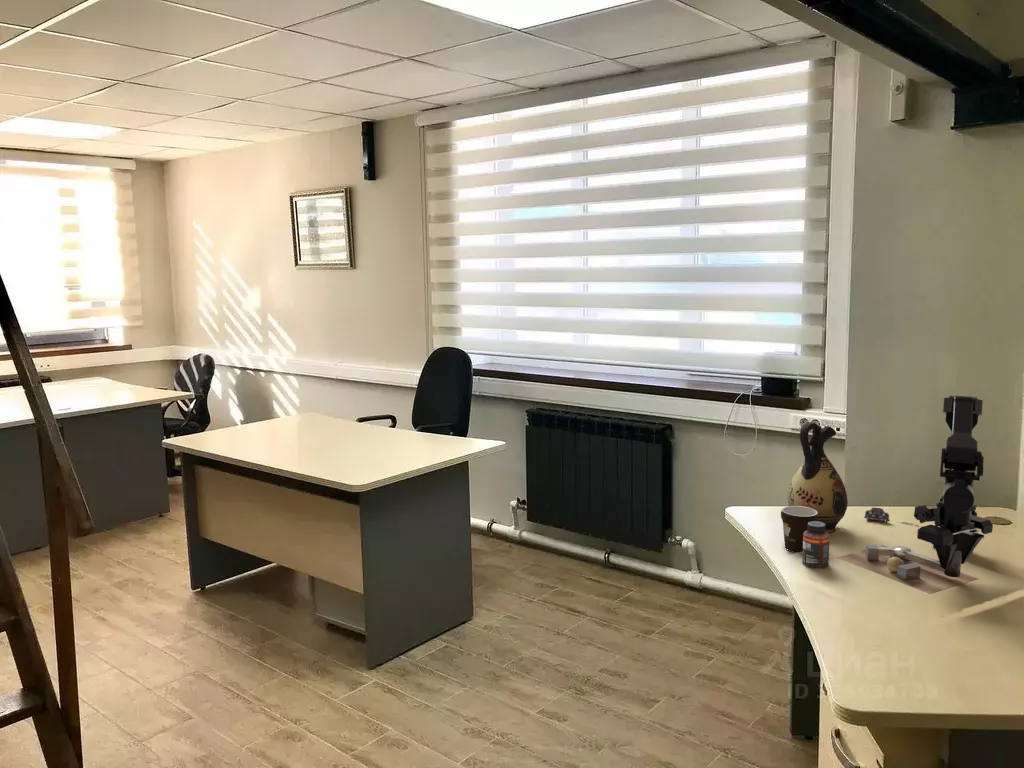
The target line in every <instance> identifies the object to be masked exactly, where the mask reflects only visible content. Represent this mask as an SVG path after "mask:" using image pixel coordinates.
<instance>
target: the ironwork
mask: <svg viewBox="0 0 1024 768" xmlns="http://www.w3.org/2000/svg"><path fill="white" fill-rule="evenodd" d="M891 557H894V556H890V558H891ZM901 560H902V561H903V563H904V565H899V566H898V567H897V578H899V579H901V580H904V581H909V580H914V579H918V578H920V568H921V567H920V566H918V565H916V564H913V563H912V561H911V560H908V559H901Z"/></svg>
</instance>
